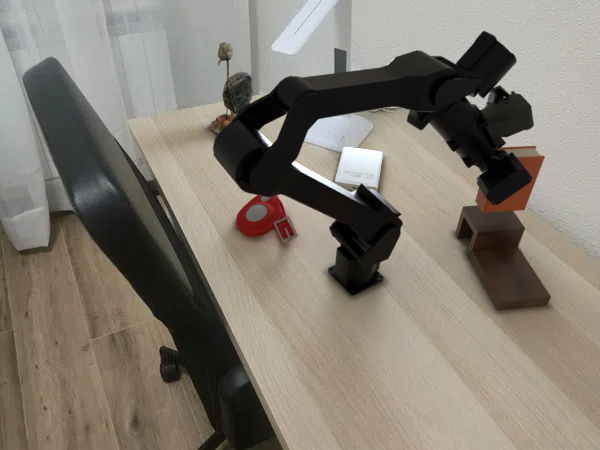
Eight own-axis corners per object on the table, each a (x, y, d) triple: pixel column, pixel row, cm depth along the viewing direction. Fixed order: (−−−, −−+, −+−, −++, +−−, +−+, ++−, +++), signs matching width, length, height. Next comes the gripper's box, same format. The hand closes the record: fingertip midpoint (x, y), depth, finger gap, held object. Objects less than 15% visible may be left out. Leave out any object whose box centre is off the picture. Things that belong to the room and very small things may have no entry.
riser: (497, 310, 82) (508, 282, 78) (454, 233, 95) (462, 206, 91) (546, 305, 83) (560, 277, 79) (498, 229, 96) (507, 202, 92)
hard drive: (382, 158, 112) (376, 194, 103) (342, 152, 113) (333, 188, 104) (383, 151, 111) (377, 187, 102) (343, 146, 112) (334, 181, 103)
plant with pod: (264, 127, 120) (263, 37, 107) (218, 142, 115) (211, 49, 102) (245, 111, 125) (241, 24, 112) (200, 125, 120) (191, 35, 107)
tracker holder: (225, 229, 92) (246, 185, 98) (234, 245, 95) (254, 202, 101) (291, 235, 87) (309, 188, 93) (298, 252, 91) (315, 206, 96)
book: (482, 212, 86) (499, 159, 79) (475, 201, 88) (491, 147, 81) (524, 210, 86) (545, 156, 80) (516, 198, 89) (535, 145, 82)
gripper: (540, 116, 66) (591, 186, 74) (480, 52, 80) (528, 116, 88) (462, 174, 70) (519, 233, 78) (418, 103, 84) (470, 160, 92)
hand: (510, 181), depth 84 cm, fingers closed on book, 3 cm apart
